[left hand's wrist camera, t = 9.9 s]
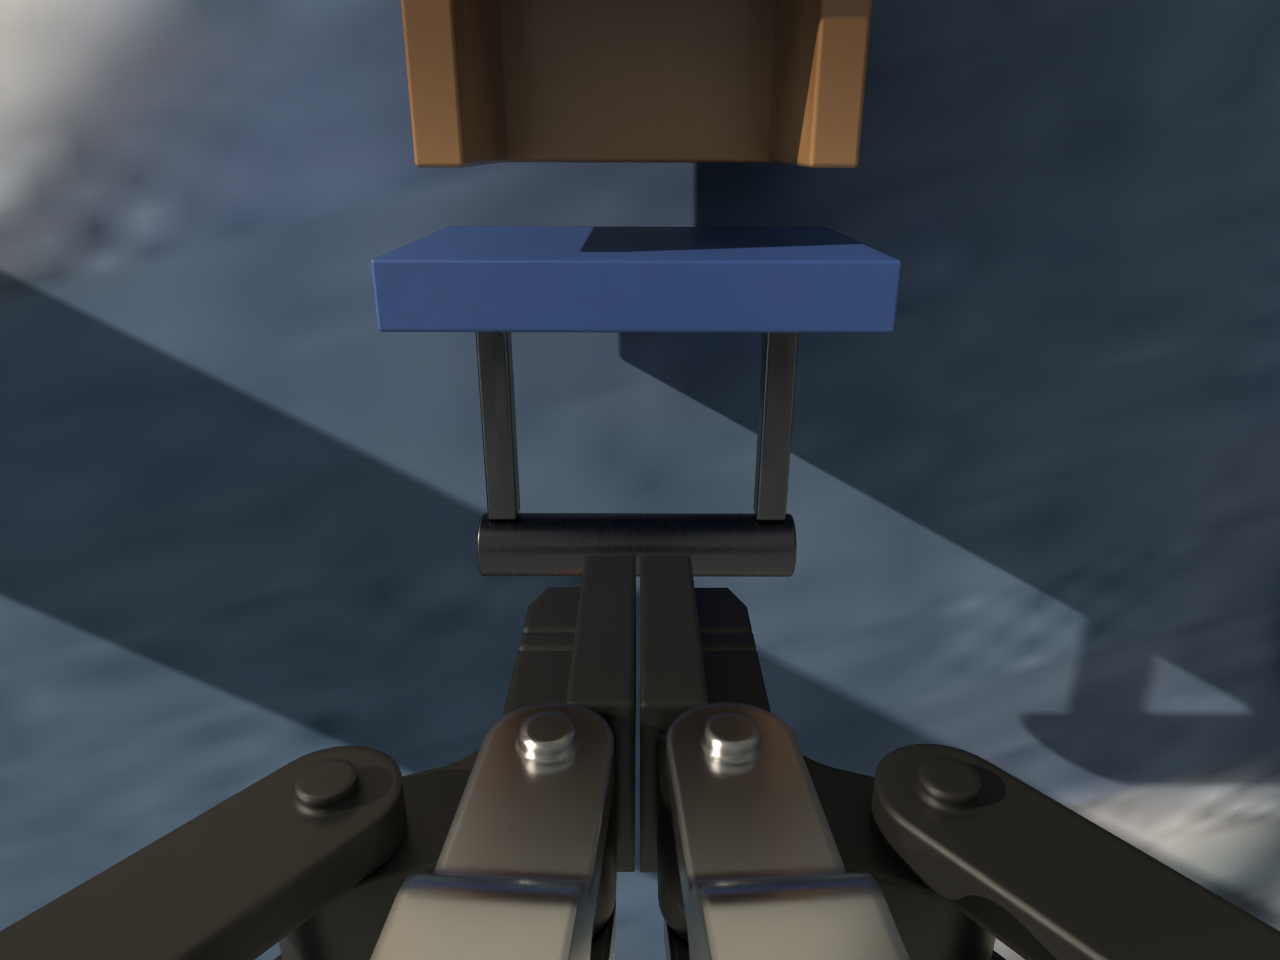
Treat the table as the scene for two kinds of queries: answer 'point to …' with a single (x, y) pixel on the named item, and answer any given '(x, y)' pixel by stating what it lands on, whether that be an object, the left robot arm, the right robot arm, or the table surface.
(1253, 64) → the table surface
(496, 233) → the drawer
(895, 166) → the table surface
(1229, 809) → the table surface
